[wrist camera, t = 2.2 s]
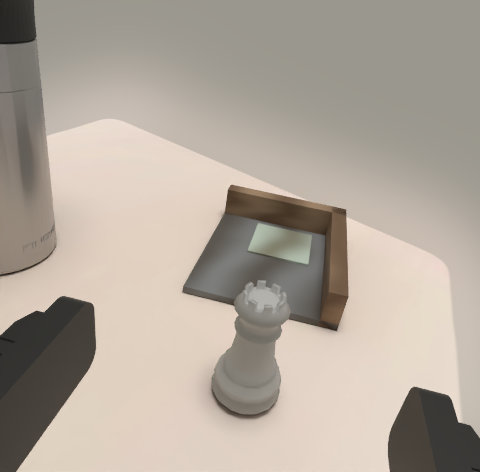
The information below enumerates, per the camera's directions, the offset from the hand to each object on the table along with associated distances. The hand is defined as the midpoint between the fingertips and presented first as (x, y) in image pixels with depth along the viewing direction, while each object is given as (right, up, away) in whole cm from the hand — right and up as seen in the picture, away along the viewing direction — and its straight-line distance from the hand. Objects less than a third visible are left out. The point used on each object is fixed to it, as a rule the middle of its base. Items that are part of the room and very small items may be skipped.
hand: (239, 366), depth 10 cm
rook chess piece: (0, -7, +17) cm, 18 cm away
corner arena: (+3, +1, +31) cm, 31 cm away
